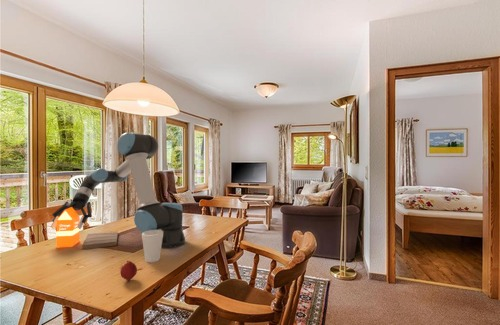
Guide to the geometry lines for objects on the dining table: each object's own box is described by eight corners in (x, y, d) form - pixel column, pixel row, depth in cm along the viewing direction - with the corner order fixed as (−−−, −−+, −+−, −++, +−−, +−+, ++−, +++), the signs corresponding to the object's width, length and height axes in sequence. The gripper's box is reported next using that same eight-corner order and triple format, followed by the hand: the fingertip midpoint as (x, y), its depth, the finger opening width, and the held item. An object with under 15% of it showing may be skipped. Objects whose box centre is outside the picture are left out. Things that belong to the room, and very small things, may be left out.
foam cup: (155, 264, 113) (155, 236, 113) (137, 262, 115) (137, 234, 115) (166, 256, 122) (166, 230, 122) (150, 255, 124) (150, 229, 124)
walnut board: (116, 245, 138) (116, 241, 138) (81, 249, 131) (81, 245, 131) (117, 234, 157) (117, 231, 157) (87, 237, 150) (87, 234, 150)
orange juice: (79, 241, 143) (79, 206, 143) (72, 246, 134) (72, 209, 134) (63, 242, 141) (64, 207, 141) (55, 247, 133) (56, 210, 132)
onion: (128, 276, 102) (128, 256, 102) (140, 278, 100) (140, 258, 100) (117, 282, 96) (117, 262, 96) (129, 285, 94) (129, 264, 94)
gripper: (106, 200, 154) (92, 231, 139) (63, 199, 152) (45, 231, 137) (101, 192, 149) (86, 224, 134) (57, 192, 147) (37, 224, 132)
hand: (65, 227), depth 136 cm, fingers open, 13 cm apart
